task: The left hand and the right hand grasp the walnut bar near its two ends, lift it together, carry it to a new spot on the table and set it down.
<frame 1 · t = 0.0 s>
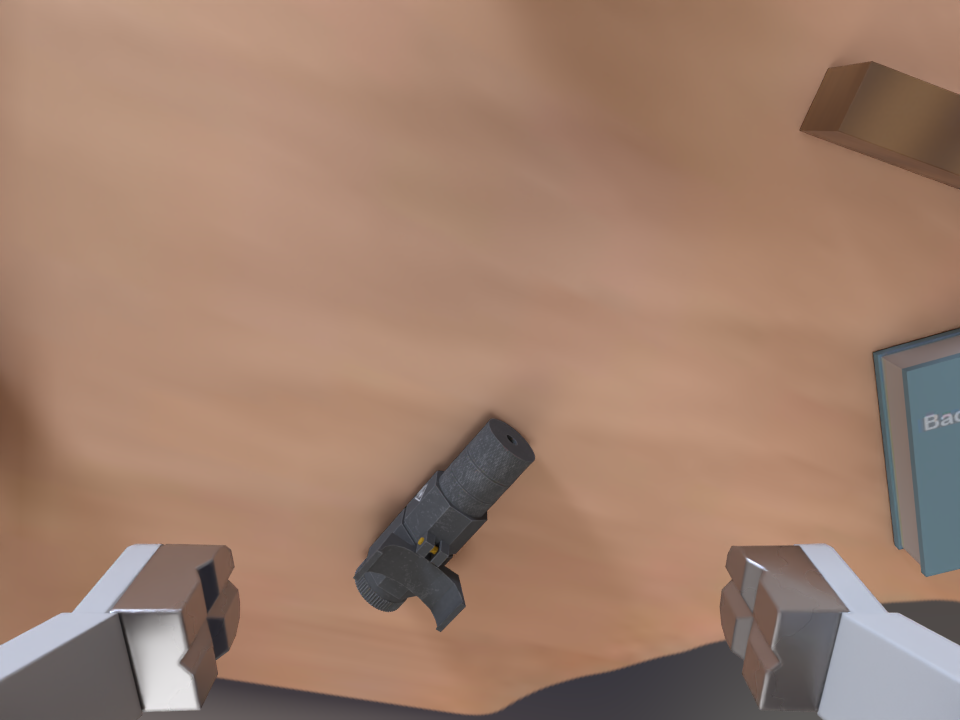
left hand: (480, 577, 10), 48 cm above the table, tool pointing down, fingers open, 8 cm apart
laser sight: (441, 501, 66), on the table
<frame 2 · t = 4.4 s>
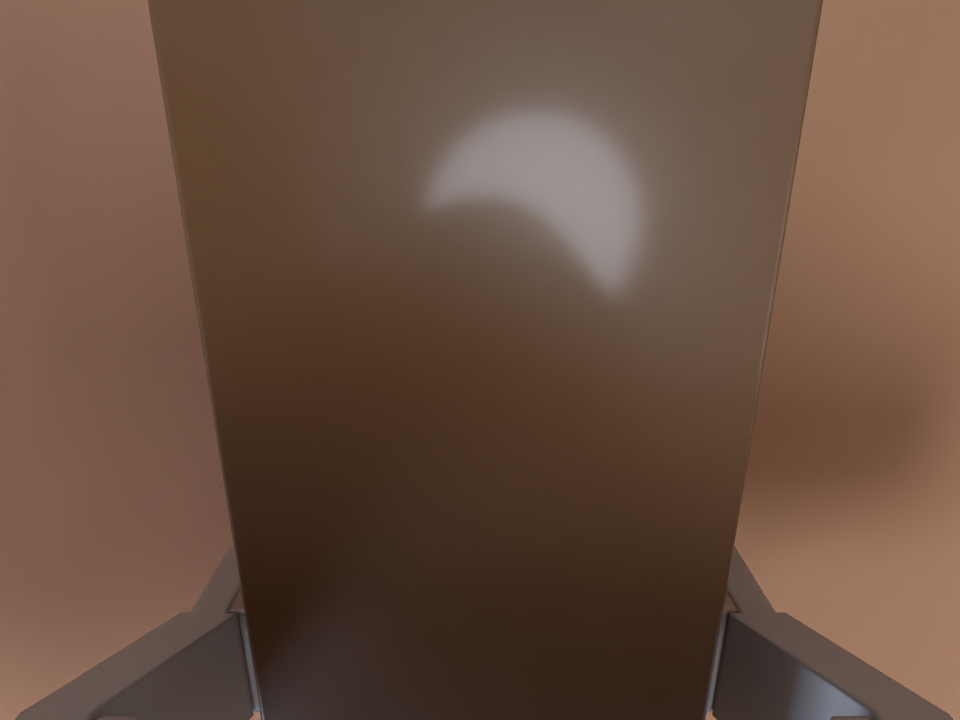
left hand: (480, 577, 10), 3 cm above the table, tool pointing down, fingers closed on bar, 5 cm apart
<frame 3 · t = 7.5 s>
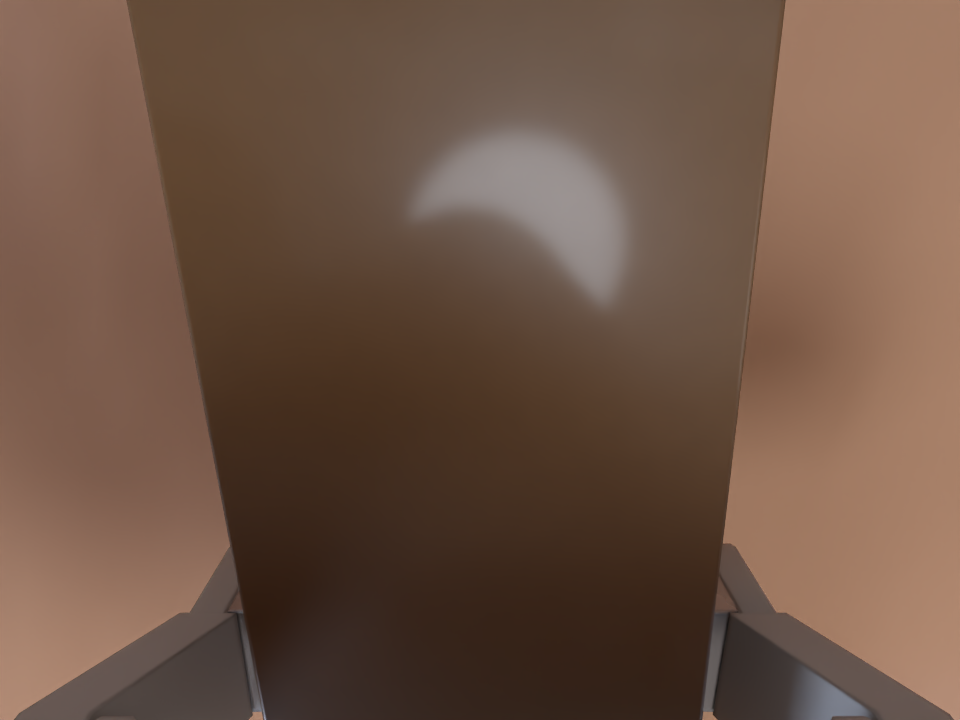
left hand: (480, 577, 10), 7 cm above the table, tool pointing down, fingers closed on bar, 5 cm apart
when the right hand's fingers open (1 cm above the table, at t = 11.3 s): bar stays where it is, held by the left hand.
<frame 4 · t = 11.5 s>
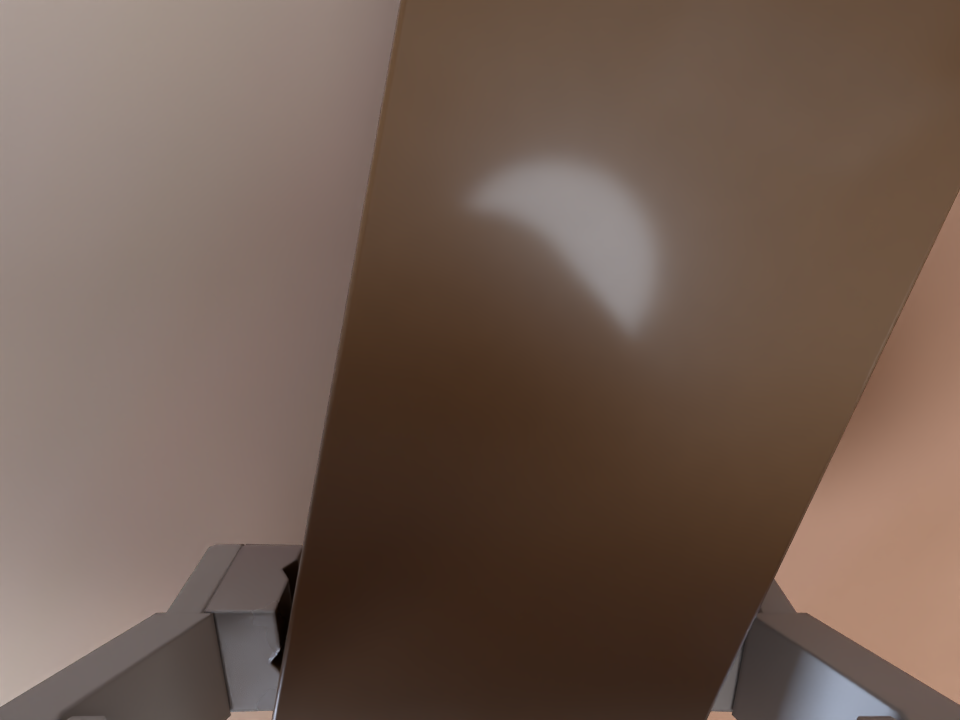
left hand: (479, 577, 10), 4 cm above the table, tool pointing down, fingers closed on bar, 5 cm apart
when the left hand's fingers open (4 cm above the table, at t = 11.6 s): bar stays where it is, on the table.
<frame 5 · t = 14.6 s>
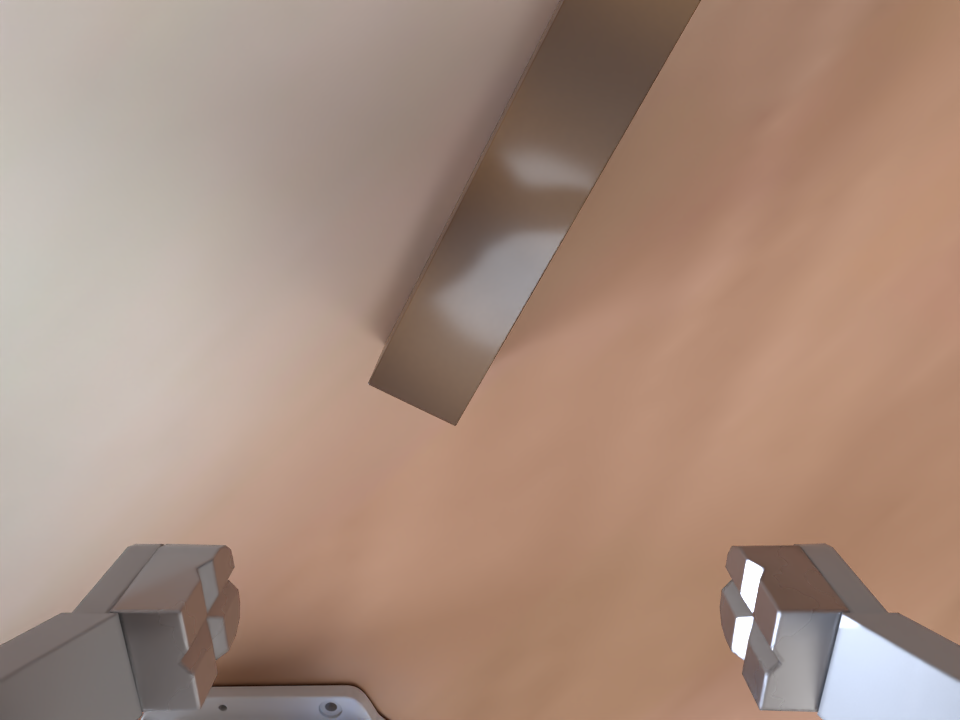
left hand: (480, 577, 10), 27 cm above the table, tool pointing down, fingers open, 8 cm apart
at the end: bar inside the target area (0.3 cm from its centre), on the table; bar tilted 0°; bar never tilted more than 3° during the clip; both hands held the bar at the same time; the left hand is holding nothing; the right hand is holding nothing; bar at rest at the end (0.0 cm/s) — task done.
